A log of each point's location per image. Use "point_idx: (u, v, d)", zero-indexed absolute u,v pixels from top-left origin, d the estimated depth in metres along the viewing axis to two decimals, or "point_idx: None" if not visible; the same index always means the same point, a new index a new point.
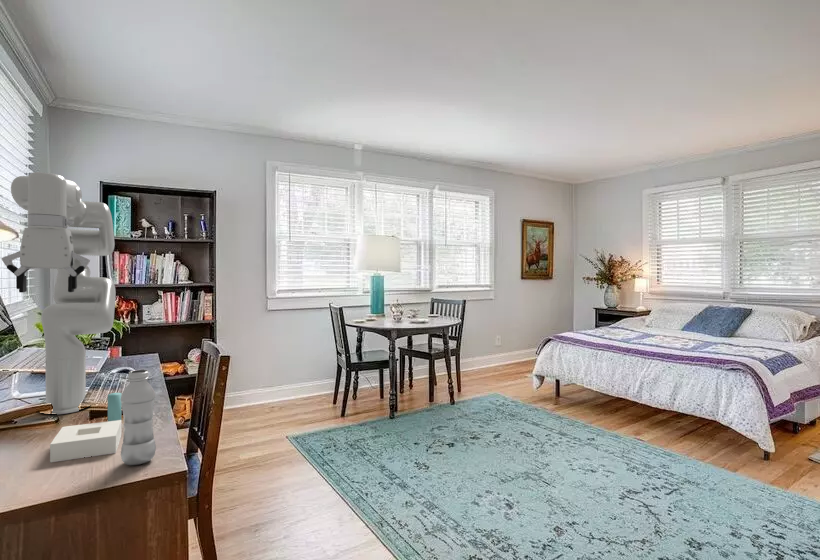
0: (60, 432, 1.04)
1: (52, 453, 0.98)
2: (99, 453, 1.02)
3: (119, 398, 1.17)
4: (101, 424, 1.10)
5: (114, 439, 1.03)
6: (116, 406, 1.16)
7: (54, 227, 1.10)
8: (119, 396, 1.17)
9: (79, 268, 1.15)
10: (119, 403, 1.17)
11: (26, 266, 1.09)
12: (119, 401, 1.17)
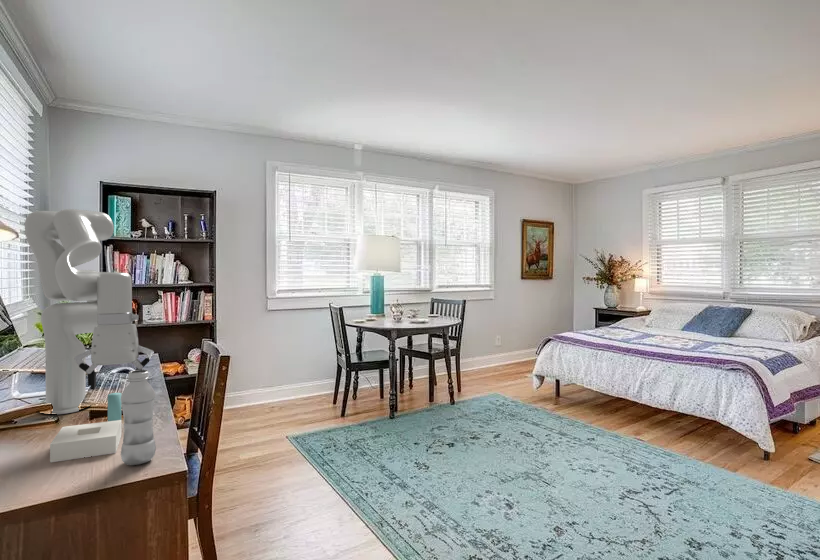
0: (60, 432, 1.04)
1: (52, 453, 0.98)
2: (99, 453, 1.02)
3: (119, 398, 1.17)
4: (101, 424, 1.10)
5: (114, 439, 1.03)
6: (116, 406, 1.16)
7: (123, 325, 1.15)
8: (119, 396, 1.17)
9: (145, 361, 1.19)
10: (119, 403, 1.17)
11: (97, 364, 1.13)
12: (119, 401, 1.17)
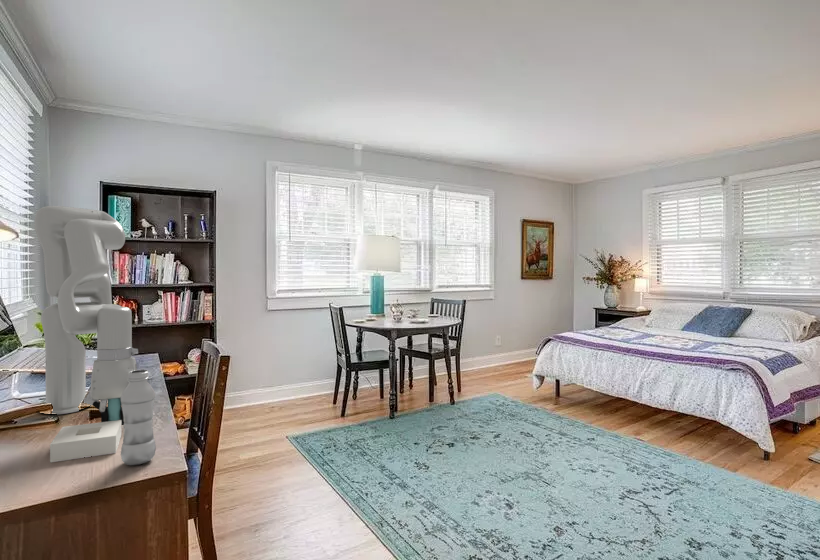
0: (60, 432, 1.04)
1: (52, 453, 0.98)
2: (99, 453, 1.02)
3: (119, 398, 1.17)
4: (101, 424, 1.10)
5: (114, 439, 1.03)
6: (116, 406, 1.16)
7: (122, 360, 1.15)
8: None
9: None
10: (119, 403, 1.17)
11: (96, 399, 1.14)
12: (119, 401, 1.17)
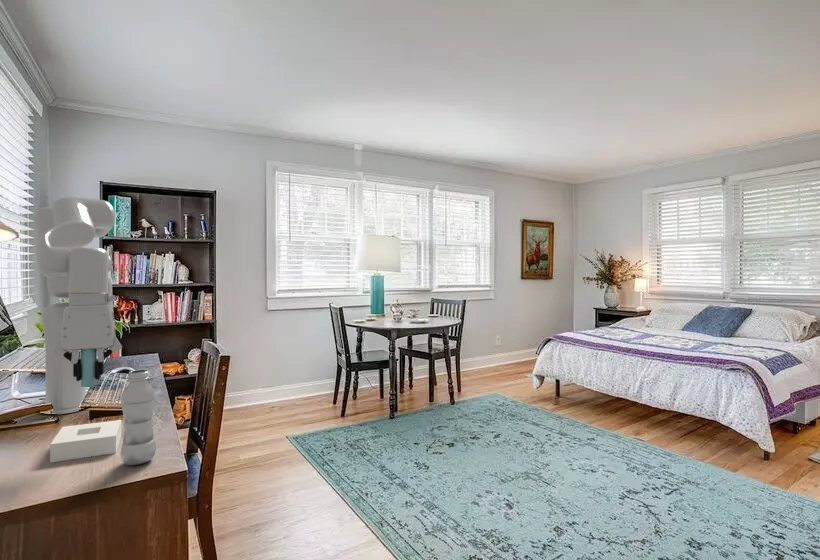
0: (60, 432, 1.04)
1: (52, 453, 0.98)
2: (99, 453, 1.02)
3: (94, 349, 1.05)
4: (101, 424, 1.10)
5: (114, 439, 1.03)
6: (90, 358, 1.04)
7: (97, 306, 1.03)
8: None
9: (107, 352, 1.06)
10: (94, 355, 1.05)
11: (67, 348, 1.02)
12: (93, 352, 1.05)
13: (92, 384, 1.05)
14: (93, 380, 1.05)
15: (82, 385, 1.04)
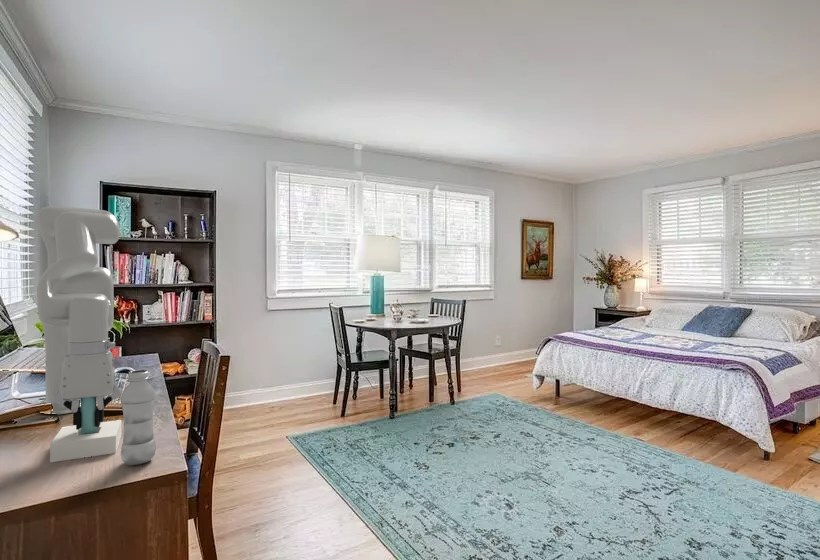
0: (60, 432, 1.04)
1: (52, 453, 0.98)
2: (99, 453, 1.02)
3: (93, 397, 1.05)
4: (101, 424, 1.10)
5: (114, 439, 1.03)
6: (90, 406, 1.04)
7: (97, 354, 1.04)
8: None
9: (106, 400, 1.06)
10: (93, 403, 1.05)
11: (67, 398, 1.02)
12: (93, 400, 1.05)
13: (92, 432, 1.05)
14: (93, 428, 1.05)
15: (82, 433, 1.04)
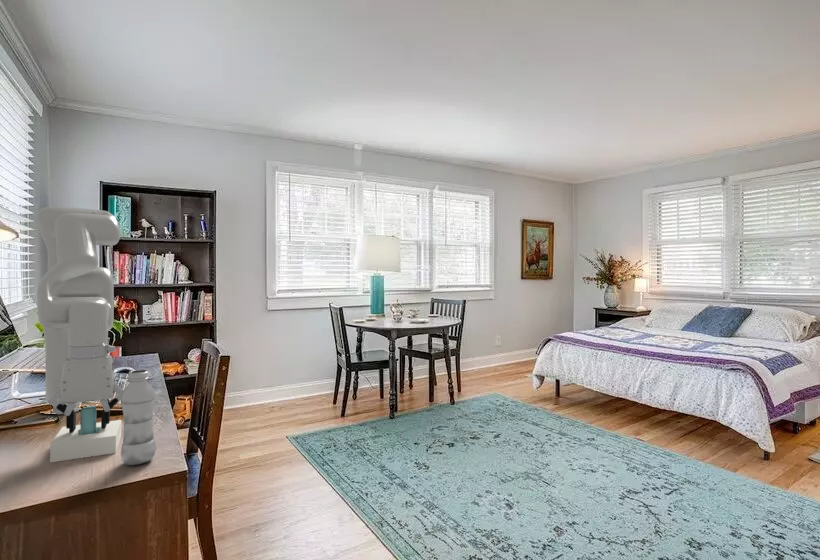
0: (60, 432, 1.04)
1: (52, 453, 0.98)
2: (99, 453, 1.02)
3: (93, 412, 1.05)
4: None
5: (114, 439, 1.03)
6: (90, 421, 1.05)
7: (96, 358, 1.04)
8: (93, 410, 1.05)
9: (113, 402, 1.07)
10: (93, 418, 1.05)
11: (67, 402, 1.02)
12: (93, 415, 1.05)
13: None
14: None
15: None
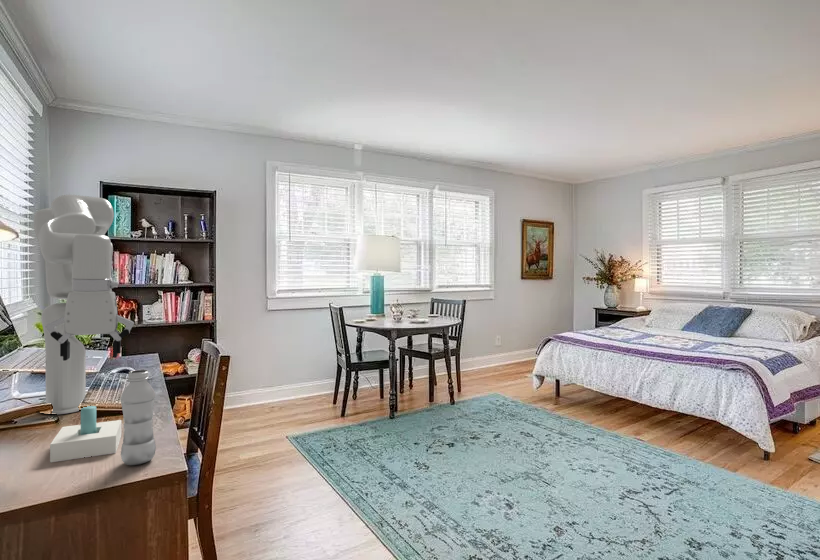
0: (60, 432, 1.04)
1: (52, 453, 0.98)
2: (99, 453, 1.02)
3: (93, 412, 1.05)
4: (101, 424, 1.10)
5: (114, 439, 1.03)
6: (90, 421, 1.05)
7: (99, 292, 1.05)
8: (93, 410, 1.05)
9: (124, 332, 1.10)
10: (93, 418, 1.05)
11: (70, 333, 1.04)
12: (93, 415, 1.05)
13: None
14: None
15: None
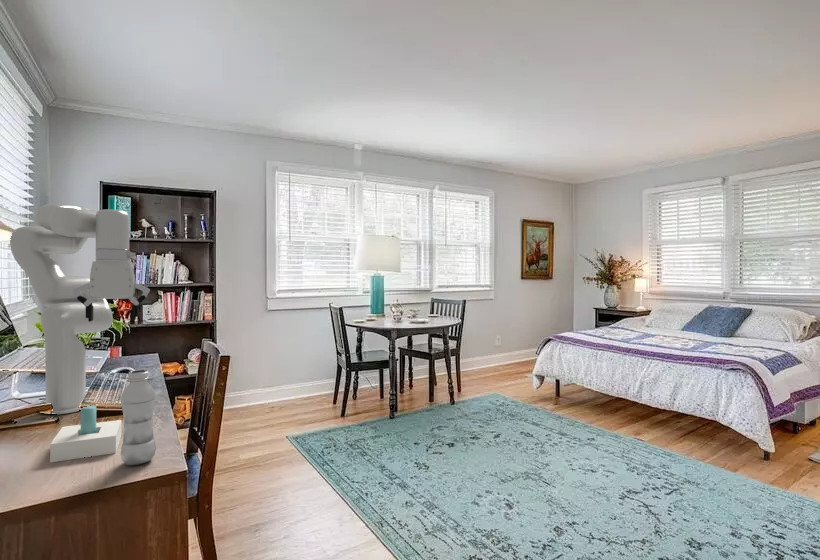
0: (60, 432, 1.04)
1: (52, 453, 0.98)
2: (99, 453, 1.02)
3: (93, 412, 1.05)
4: (101, 424, 1.10)
5: (114, 439, 1.03)
6: (90, 421, 1.05)
7: (120, 260, 1.19)
8: (93, 410, 1.05)
9: (141, 297, 1.23)
10: (93, 418, 1.05)
11: (95, 297, 1.17)
12: (93, 415, 1.05)
13: None
14: None
15: None
